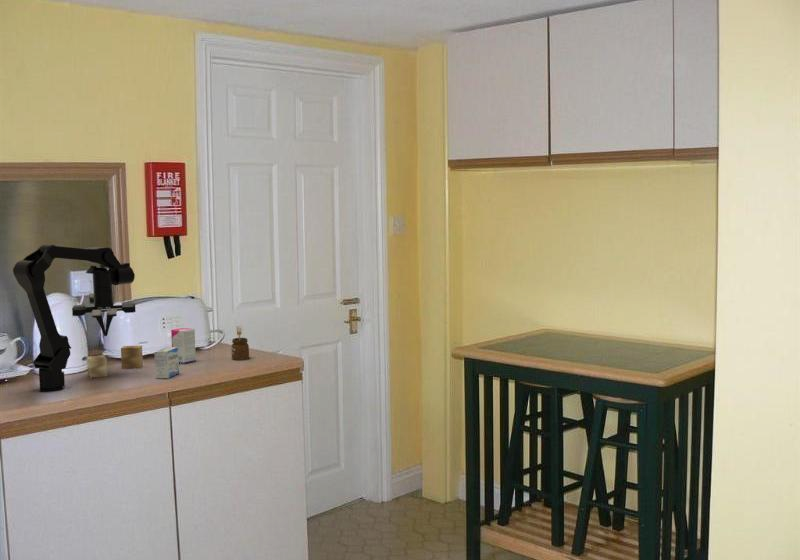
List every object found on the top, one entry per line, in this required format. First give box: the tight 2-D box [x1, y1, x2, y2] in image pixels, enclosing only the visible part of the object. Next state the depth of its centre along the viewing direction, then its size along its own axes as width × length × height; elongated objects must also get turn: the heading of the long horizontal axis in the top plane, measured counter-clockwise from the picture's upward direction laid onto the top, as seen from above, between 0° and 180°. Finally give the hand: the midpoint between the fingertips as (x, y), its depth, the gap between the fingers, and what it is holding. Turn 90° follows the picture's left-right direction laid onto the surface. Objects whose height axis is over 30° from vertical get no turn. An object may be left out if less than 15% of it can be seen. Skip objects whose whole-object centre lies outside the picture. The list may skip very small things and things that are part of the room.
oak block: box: [120, 345, 144, 370], centre depth 289 cm, size 6×4×7 cm, turn 94°
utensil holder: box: [231, 325, 250, 361], centre depth 300 cm, size 6×6×12 cm
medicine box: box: [154, 346, 180, 379], centre depth 274 cm, size 8×4×9 cm, turn 169°
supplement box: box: [170, 327, 197, 365], centre depth 296 cm, size 6×6×12 cm
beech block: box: [86, 354, 108, 379], centre depth 277 cm, size 5×5×6 cm
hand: (105, 336), depth 274 cm, fingers closed
